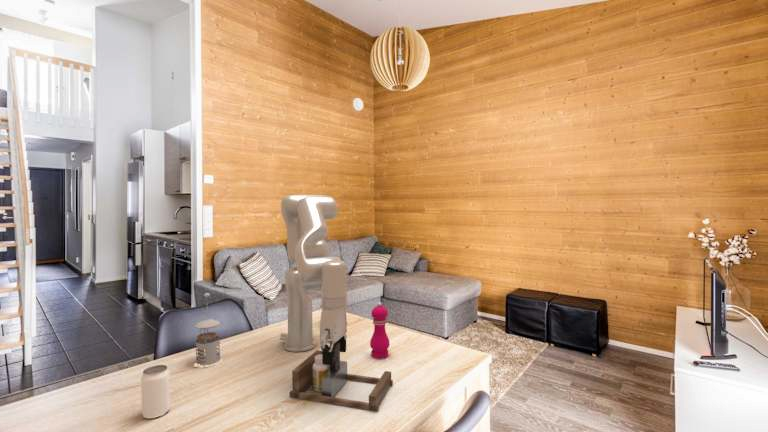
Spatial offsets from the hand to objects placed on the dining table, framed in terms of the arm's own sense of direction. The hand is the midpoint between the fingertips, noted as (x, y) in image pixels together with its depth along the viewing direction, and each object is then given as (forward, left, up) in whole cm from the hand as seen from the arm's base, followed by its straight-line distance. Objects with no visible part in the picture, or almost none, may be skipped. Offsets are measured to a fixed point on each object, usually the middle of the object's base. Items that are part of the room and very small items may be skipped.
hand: (334, 357), depth 113 cm
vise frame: (+3, 0, -10) cm, 10 cm away
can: (-41, -25, -10) cm, 49 cm away
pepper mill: (+6, +28, -10) cm, 30 cm away
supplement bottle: (-4, 0, -10) cm, 11 cm away
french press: (-52, +6, -10) cm, 54 cm away
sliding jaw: (0, 0, -10) cm, 10 cm away
